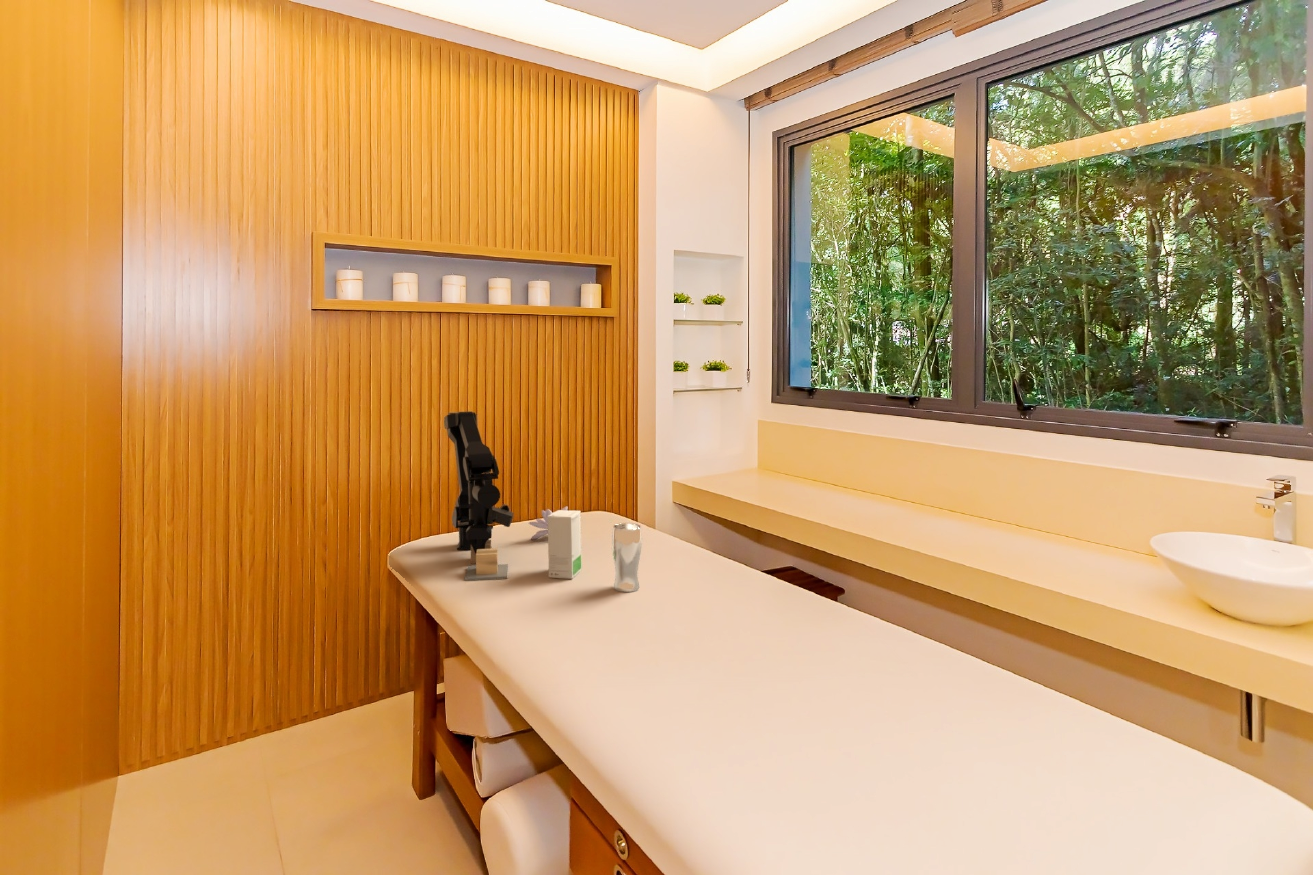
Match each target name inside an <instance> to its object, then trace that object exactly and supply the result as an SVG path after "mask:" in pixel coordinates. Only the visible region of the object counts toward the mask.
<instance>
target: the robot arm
mask: <svg viewBox="0 0 1313 875" xmlns="http://www.w3.org/2000/svg"><path fill="white" fill-rule="evenodd" d="M477 415H478V414H477V413H475V412H474V411H468V410H467V411H458V412H457V411H456V412H448V414H447V415H445V416H444V417H443V424H444V428H445V430H446V433H447V437H448V438H449V439H450V441H451V442H452V443H453V444H454V452H455V453H454V454H455V460H456V470H457V478H458V479H457V480H458V488H459V494H458V497H457V499H456V500H455V503H454V504H455V506H454V508H453V511H452V516H451V520H452V521H451V522H452V526H453V527H454V528H455V529H458V544H457V546H456V550H471V545H472V547H473V549H474V551H475V554H476V552H477V549H485V544H486V541H487V540H492V535H493V534H492V533H493V531H492V530H493V529H494V523H496V524H499V525H502V526H504V527H506V528H510V526H511V523H512V522H513V518H514V512H513V511H512V510H511V511H510V506H509V505H508V504H502V505H501V506H500V507H498V506H495V505H497V504H498V503H499V501H500V498H501V491H500V489H499V487H497V486H496V485H494V483H493V480H499V475H500V470H499V466H498V462H497V459H496V458H495V454H492V451H491V449H490V447H489V446H487V445H485V444H484V443H483V440H482V437H481V434H480V430H479V428H478V418H477Z"/></svg>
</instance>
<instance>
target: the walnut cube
mask: <svg viewBox="0 0 1313 875" xmlns="http://www.w3.org/2000/svg"><path fill="white" fill-rule="evenodd" d="M485 549H492V539H489V540H487V541H486V544H485ZM475 563H476V554H475V551H474V549H473V547H472V545H471V549H470V565H476V564H475Z"/></svg>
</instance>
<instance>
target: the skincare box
mask: <svg viewBox="0 0 1313 875" xmlns="http://www.w3.org/2000/svg"><path fill="white" fill-rule="evenodd" d="M581 516H582V514H581V510H568V509H567V510H562V509H557V510H555V511H553V512H552V513H551V514H550V515H549V516H548V529H547V530H548V534H547V547H548V548H547V549H548V551H547V554H548V578H550V579H563V580H565V579H567V580H568V579H569V580H573V579H574V578H575V577H576V576H577V575H578V574H579V573H580V572H581V571H582V568H583V567H582V532H581V531H582V529H581V528H582V524H581V521H582V518H581Z"/></svg>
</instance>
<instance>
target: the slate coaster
mask: <svg viewBox="0 0 1313 875" xmlns="http://www.w3.org/2000/svg"><path fill="white" fill-rule="evenodd" d="M508 570H509V565H508V563H506V564H505V563H504V564H502V563H501V564H499V563H498V571H497V574H479V575H476V565H467V569H466V572H465V577H464V581H466V582H467V581H468V582H469V581H470V580H471V581H485V580H486V581H487V580H488V581H489V580H505V579H506V580H508V572H509V571H508Z"/></svg>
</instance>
